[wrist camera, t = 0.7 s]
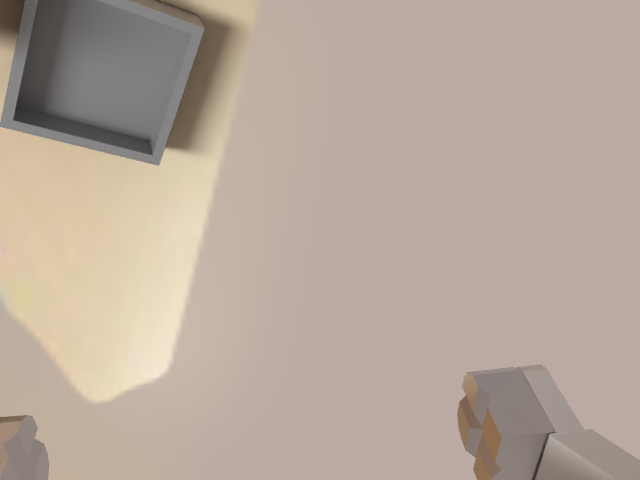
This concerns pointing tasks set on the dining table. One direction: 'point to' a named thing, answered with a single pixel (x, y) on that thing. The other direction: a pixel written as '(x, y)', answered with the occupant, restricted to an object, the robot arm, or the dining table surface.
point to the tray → (101, 73)
